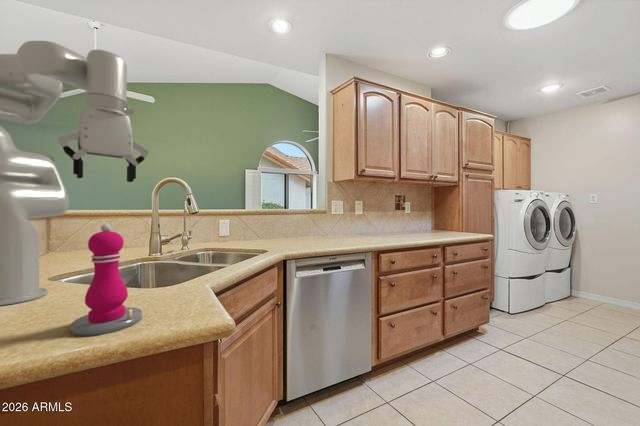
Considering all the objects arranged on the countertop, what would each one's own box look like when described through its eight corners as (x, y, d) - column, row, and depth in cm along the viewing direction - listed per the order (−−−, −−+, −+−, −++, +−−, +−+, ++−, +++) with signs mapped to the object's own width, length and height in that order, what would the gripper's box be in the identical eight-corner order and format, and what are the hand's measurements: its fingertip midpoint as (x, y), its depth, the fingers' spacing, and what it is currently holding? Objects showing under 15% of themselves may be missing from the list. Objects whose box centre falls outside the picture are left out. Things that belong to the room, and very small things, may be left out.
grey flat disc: (53, 333, 54) (53, 317, 54) (110, 311, 66) (110, 297, 66) (105, 338, 52) (105, 321, 52) (154, 314, 64) (154, 300, 64)
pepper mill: (77, 326, 54) (76, 225, 54) (94, 313, 61) (93, 223, 61) (120, 321, 56) (119, 224, 56) (132, 309, 63) (131, 222, 63)
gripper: (144, 120, 74) (143, 183, 75) (55, 100, 62) (54, 177, 62) (153, 114, 69) (152, 182, 70) (58, 91, 56) (57, 175, 57)
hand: (106, 179), depth 66 cm, fingers open, 9 cm apart
